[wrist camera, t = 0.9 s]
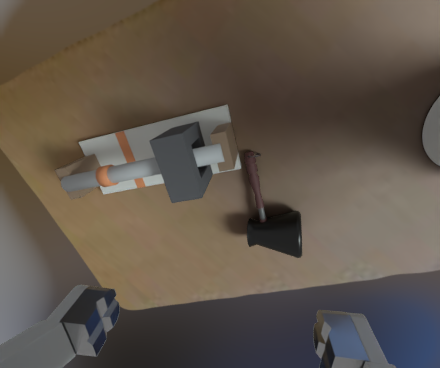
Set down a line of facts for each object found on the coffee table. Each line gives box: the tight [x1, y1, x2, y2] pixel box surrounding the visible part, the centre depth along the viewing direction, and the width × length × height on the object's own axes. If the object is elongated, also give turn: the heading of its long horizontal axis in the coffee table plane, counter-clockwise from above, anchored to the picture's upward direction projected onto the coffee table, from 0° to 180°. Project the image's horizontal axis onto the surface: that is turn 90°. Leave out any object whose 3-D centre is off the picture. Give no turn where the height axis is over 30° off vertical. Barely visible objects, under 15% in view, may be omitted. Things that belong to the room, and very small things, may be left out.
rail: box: [55, 104, 241, 199], centre depth 35 cm, size 26×10×10 cm, turn 104°
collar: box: [149, 121, 213, 203], centre depth 30 cm, size 4×8×8 cm, turn 14°
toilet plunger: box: [244, 151, 302, 258], centre depth 38 cm, size 8×18×8 cm
